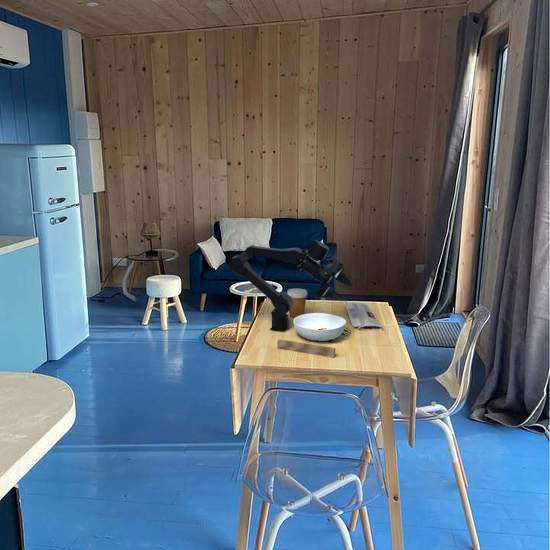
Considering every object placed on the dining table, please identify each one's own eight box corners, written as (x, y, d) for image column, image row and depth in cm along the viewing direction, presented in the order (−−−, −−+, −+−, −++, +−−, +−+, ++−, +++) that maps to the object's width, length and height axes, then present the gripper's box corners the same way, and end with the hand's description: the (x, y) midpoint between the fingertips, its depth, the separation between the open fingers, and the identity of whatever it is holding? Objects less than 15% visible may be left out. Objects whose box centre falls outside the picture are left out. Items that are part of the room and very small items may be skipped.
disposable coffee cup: (310, 315, 236) (311, 290, 233) (300, 321, 228) (301, 294, 225) (292, 312, 241) (293, 287, 238) (282, 317, 233) (282, 291, 230)
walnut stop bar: (277, 348, 196) (277, 340, 195) (279, 346, 197) (279, 339, 197) (333, 357, 187) (333, 349, 186) (335, 355, 189) (335, 348, 188)
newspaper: (383, 331, 217) (383, 323, 216) (353, 331, 217) (353, 323, 216) (366, 307, 252) (366, 300, 251) (340, 307, 251) (340, 300, 250)
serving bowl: (285, 331, 215) (285, 315, 213) (330, 326, 222) (331, 310, 220) (305, 349, 196) (306, 331, 194) (355, 342, 203) (355, 325, 201)
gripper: (313, 270, 196) (347, 294, 195) (333, 244, 209) (365, 267, 207) (302, 287, 204) (334, 310, 203) (321, 261, 217) (352, 283, 216)
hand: (347, 292), depth 207 cm, fingers open, 9 cm apart
